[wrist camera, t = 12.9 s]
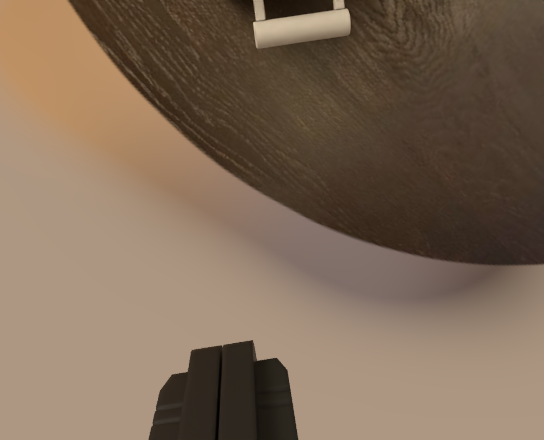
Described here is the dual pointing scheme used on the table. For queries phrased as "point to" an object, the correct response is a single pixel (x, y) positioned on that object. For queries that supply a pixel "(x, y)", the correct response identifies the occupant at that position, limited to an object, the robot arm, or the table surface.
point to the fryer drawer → (300, 26)
